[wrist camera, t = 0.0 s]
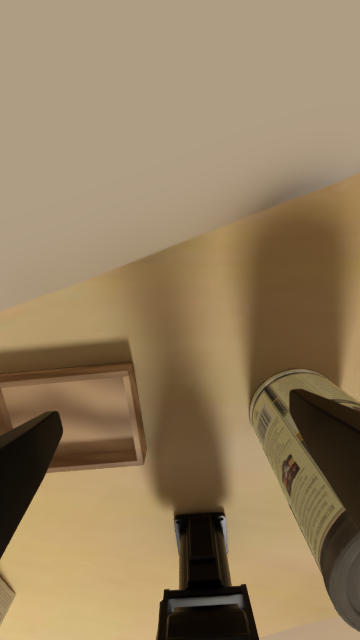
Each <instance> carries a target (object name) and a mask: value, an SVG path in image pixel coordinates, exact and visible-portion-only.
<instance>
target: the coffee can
mask: <svg viewBox="0 0 360 640" xmlns="http://www.w3.org/2000/svg"><path fill="white" fill-rule="evenodd" d="M292 389H304V390H307V391H309V392H312V393H314V394H317V395H319V396H322V397H324V398H327V399H330V400H332V401H335V402H337V403H340V404H342V405H345V406H347V407H350V408H353V409H355V410H358V411H360V402H358V401H357V400H355V399H354V398H353V397H351V396H350V395H348V394H347V393H346V392H344V391H343V390H342V389H340V388H339V387H337V386H336V385H335V384H333V383H332V382H331V381H330V380H329V379H328V378H326V377H325V376H323V375H322V374H320V373H318V372H315V371H311V370H307V369H293V370H288V371H283V372H281V373H279V374H277V375H274V376H273V377H271V378H269V379H268V380H266V381H265V382H264V383H263V384H262V385H261V386H260V387H259V388H258V390H257V391H256V392H255V395H254V397H253V399H252V401H251V405H250V412H249V413H250V421H251V425H252V428H253V430H254V431H255V433H256V435H257V437H258V439H259V441H260V443H261V445H262V447H263V450H264V452H265V454H266V456H267V458H268V460H269V462H270V464H271V467H272V469H273V471H274V473H275V475H276V477H277V479H278V481H279V484H280V486H281V488H282V490H283V492H284V494H285V496H286V499H287V501H288V503H289V506H290V508H291V510H292V512H293V514H294V516H295V519H296V521H297V523H298V525H299V527H300V529H301V531H302V533H303V535H304V537H305V539H306V541H307V544H308V546H309V548H310V550H311V552H312V554H313V556H314V558H315V561H316V563H317V565H318V567H319V569H320V571H321V573H322V576H323V579H324V583H325V587H326V589H327V592H328V594H329V597H330V599H331V601H332V603H333V605H334V607H335V609H336V611H337V612H338V614H339V615H340V616H341V617H342V619H343V620H344V621H345V622H347V623H348V624H349V625H350V626H351V627H353V628H354V629H356V630H357V631H360V531H359V530H358V528H357V527H356V525H355V524H354V522H353V520H352V519H351V517H350V516H349V514H348V513H347V511H346V509H345V508H344V506H343V505H342V503H341V502H340V500H339V498H338V497H337V495H336V494H335V492H334V491H333V489H332V487H331V486H330V484H329V483H328V481H327V480H326V478H325V476H324V475H323V473H322V472H321V470H320V469H319V467H318V465H317V464H316V462H315V461H314V459H313V457H312V456H311V454H310V452H309V450H308V448H307V446H306V445H305V443H304V441H303V439H302V437H301V435H300V433H299V431H298V429H297V427H296V425H295V423H294V421H293V419H292V417H291V415H290V411H289V392H290V390H292Z"/></svg>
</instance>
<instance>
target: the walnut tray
mask: <svg viewBox="0 0 360 640" xmlns="http://www.w3.org/2000/svg"><path fill="white" fill-rule="evenodd" d="M47 411H58V412H59V414H60V418H61V422H62V426H63V435H62V438H61V440H60V442H59V445H58V447H57V449H56V452H55V454H54V456H53V458H52V461H51V463H50V465H49V468H48V470H47V472H46V473H52V472H65V471H77V470H89V469H102V468H114V467H126V466H139V465H144V461H145V456H146V451H147V448H146V441H145V435H144V429H143V423H142V416H141V410H140V404H139V398H138V391H137V385H136V379H135V373H134V366H133V362H124V363H113V364H103V365H92V366H82V367H71V368H61V369H50V370H40V371H29V372H19V373H8V374H0V435H2V434H4V433H6V432H8V431H10V430H12V429H14V428H16V427H18V426H20V425H21V424H23V423H25V422H27V421H29V420H31V419H33V418H35V417H37V416H39V415H41V414H43V413H44V412H47Z"/></svg>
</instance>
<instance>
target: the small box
mask: <svg viewBox="0 0 360 640" xmlns="http://www.w3.org/2000/svg"><path fill="white" fill-rule="evenodd" d="M14 598H15V593H14V592H13V591H12V590H11V589H10V588H9V587H8V586H7V584H6V583H5V582H4V581H3V580H2V579H1V577H0V625H1V623H2V621H3V619H4V617H5V615H6V613H7V611H8V609H9V607H10V605H11V604H12V602H13V600H14Z"/></svg>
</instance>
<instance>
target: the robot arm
mask: <svg viewBox="0 0 360 640" xmlns="http://www.w3.org/2000/svg"><path fill="white" fill-rule="evenodd" d="M289 411H290V415H291V417H292V419H293V421H294V423H295V425H296V427H297V429H298V431H299V433H300V435H301V437H302V439H303V441H304V443H305V445H306V446H307V448H308V450H309V452H310V454H311V456H312V457H313V459H314V461H315V462H316V464H317V465H318V467H319V469H320V470H321V472H322V473H323V475H324V476H325V478H326V480H327V481H328V483H329V484H330V486H331V487H332V489H333V491H334V492H335V494H336V495H337V497H338V498H339V500H340V502H341V503H342V505H343V506H344V508H345V509H346V511H347V513H348V514H349V516H350V517H351V519H352V520H353V522H354V524H355V525H356V527H357V528H358V530H359V531H360V411H358V410H355V409H353V408H350V407H347V406H345V405H342V404H340V403H337V402H335V401H332V400H330V399H327V398H324V397H322V396H319V395H317V394H314V393H312V392H309V391H307V390H304V389H292V390H290V392H289ZM62 435H63V426H62V422H61V418H60V414H59V412H58V411H47V412H44V413H43V414H41V415H39V416H37V417H35V418H33V419H31V420H29V421H27V422H25V423H23V424H21V425H20V426H18V427H16V428H14V429H12V430H10V431H8V432H6V433H4V434H2V435H0V559H1V557H2V555H3V553H4V551H5V549H6V548H7V546H8V544H9V542H10V540H11V538H12V536H13V535H14V533H15V531H16V529H17V527H18V525H19V523H20V521H21V520H22V518H23V516H24V514H25V512H26V510H27V508H28V507H29V505H30V503H31V501H32V499H33V497H34V495H35V494H36V492H37V490H38V488H39V486H40V484H41V482H42V480H43V478H44V476H45V474H46V472H47V470H48V468H49V465H50V463H51V461H52V458H53V456H54V454H55V452H56V449H57V447H58V445H59V442H60V440H61V438H62ZM174 525H175V532H176V539H177V546H178V553H179V590H169V589H164V597H163V600H162V601H161V602H160V609H159V623H158V631H157V637H156V640H259V637H258V633H257V629H256V624H255V620H254V616H253V612H252V608H251V604H250V600H249V595H248V591H247V587H246V584H241V586H232V584H231V578H230V572H229V565H228V559H227V553H228V544H227V530H226V518H225V514H224V513H210V514H197V515H183V516H176V517H175V518H174Z"/></svg>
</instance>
